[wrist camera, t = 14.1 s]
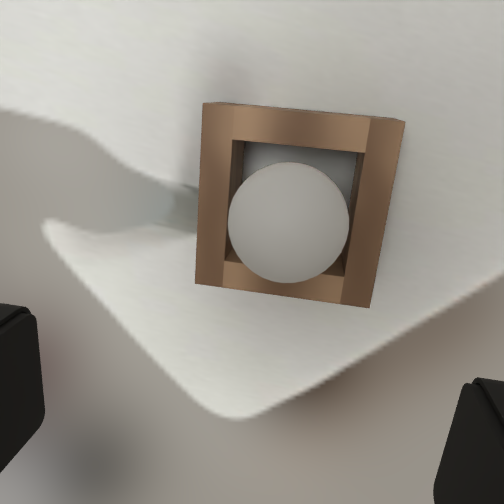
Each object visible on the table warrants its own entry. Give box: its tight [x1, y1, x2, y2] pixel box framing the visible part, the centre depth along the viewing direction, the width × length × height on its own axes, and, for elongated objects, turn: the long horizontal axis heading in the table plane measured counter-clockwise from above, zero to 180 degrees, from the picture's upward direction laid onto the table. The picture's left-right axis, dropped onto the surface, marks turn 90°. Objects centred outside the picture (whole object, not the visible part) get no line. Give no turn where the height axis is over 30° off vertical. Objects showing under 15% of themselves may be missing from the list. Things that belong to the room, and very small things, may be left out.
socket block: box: [195, 102, 405, 308], centre depth 28 cm, size 11×11×4 cm
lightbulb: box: [228, 162, 349, 283], centre depth 25 cm, size 6×6×11 cm
